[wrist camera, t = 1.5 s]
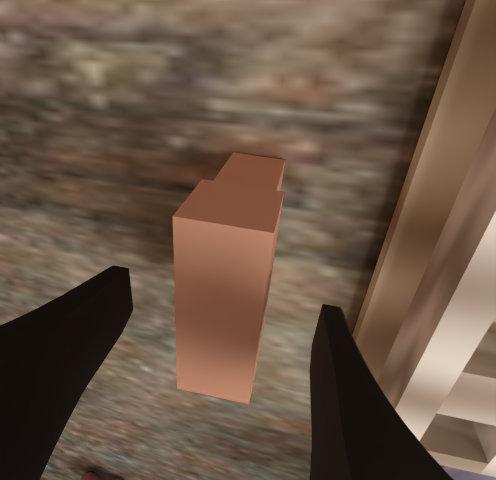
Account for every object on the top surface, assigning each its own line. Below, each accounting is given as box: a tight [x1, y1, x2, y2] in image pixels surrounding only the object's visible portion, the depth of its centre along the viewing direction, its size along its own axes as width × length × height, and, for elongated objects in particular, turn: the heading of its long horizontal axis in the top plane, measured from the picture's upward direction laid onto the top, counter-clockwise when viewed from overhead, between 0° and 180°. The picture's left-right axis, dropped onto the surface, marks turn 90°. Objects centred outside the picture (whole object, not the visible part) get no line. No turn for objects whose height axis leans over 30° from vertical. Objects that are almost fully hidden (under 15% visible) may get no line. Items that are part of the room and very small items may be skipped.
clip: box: [173, 152, 285, 404], centre depth 15 cm, size 8×3×7 cm, turn 175°
